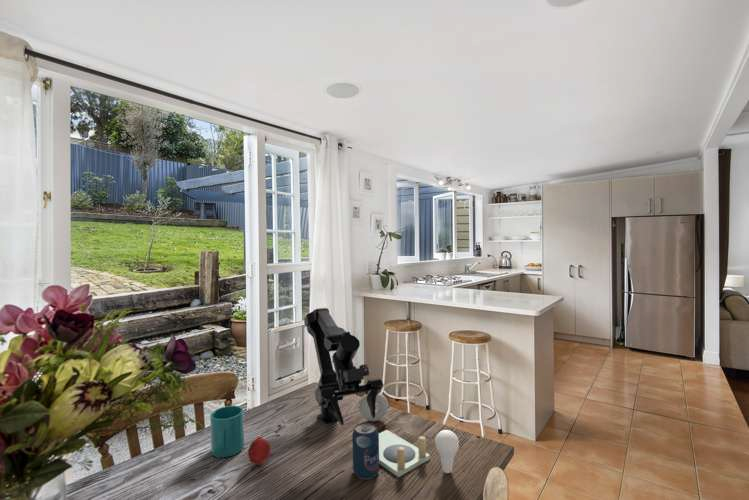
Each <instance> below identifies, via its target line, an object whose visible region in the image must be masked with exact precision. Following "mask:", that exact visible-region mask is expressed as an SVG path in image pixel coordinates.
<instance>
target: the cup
mask: <svg viewBox="0 0 749 500" xmlns="http://www.w3.org/2000/svg"><path fill="white" fill-rule="evenodd" d="M243 408H244V407H242V406H238V405H228V406H221V407H219V408H216V409H215V410H213V411H212V412H211V413H210V416H209V417H210V420H209V421H210V422H209V423H210V445H211V449H210V450H211V454H212V456H214V457H216V458H220V457H221V458H222V459H223V458H224V457H225V458H229V457H233V456H235V455H238V454H239V453H240V452H241V451H242V450H244V446H245V427H244V426H245V425H244V423H245V422H244V409H243ZM221 458H220V459H221ZM225 458H224V459H225Z"/></svg>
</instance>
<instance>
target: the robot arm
mask: <svg viewBox="0 0 749 500" xmlns="http://www.w3.org/2000/svg"><path fill="white" fill-rule="evenodd" d="M303 318H304V319H303V321H304V322H303V323H304V326H305V327H306V330H307V333H308V334H309V335H310V336H311V337H312V338H313V343H314V348H315V353H316V354H315V355H316V358H317V363H318V368H319V373H320V377H319V380H318V382H317V388H316V390H315V392H314V396H315V402H317V405H318V406H320V414H317V415H316V417H317V418H318V419H319V420H320V421H322V422H323V423H325V424H330V423H332V422H335V421H337V422H338V423H339V424H340V425H341V426H344V425H345V424H344V418H343V415H342V412H341V408H340V406H339V401H343V400H344V397H345V396H352V395H357V394H361V393H365V394H367V395H368V396H367V398H366V399H367V402H368V406H369V409H370V412H371V415H372V417H373V418H375V410H376V396H377V395H378V394H379V393H381V392H382V389H383V388H384V386H385V385H384V383H383V381H382V379H381V378H380V377H378V378H372V379H368V380H367V382H366V384H362V382H363V381H362V380H365V377H368V376H369V375H370V371H369V367H368V364H367V363H364V364H360V365H359V367H358V368H357V367H356V365H354V362H353V360H354V358H355V357H356V354H357V352H358V350H359V348H360V344H361V343H360V340H359V338H357V337H356V336H355V335H352V334H351V332H350V331H346V330H345V329H344V328H342V327H339V326H338V325H337V324H336V322H335V320H334V319H333V317H332V315H331V314H330V310H329V308H327V307H321V308H320V307H319V308H315V309H313V311H311V312H309V313H307V314H306V315H305V316H304V317H303ZM331 352H334V353H333V354H332V356H331V354H330V353H331ZM333 366H334V367H333ZM360 384H362V385H360Z"/></svg>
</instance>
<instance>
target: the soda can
mask: <svg viewBox="0 0 749 500" xmlns="http://www.w3.org/2000/svg"><path fill="white" fill-rule="evenodd" d="M379 433H380V432H379V431H378V429H377V426H376V425H375V424H374V423H371V422H367V421H366V422H361V423H360V422H359V423H358V424H356V425H355V426H354V430H353V431H352V470H353V473H354V474H355V475H356V477H357V478H359V479H361V480H371V479H372V478H373V479H374V478H375V477H376V475H377V474H378V473H379V470H380V464H379Z"/></svg>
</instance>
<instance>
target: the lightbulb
mask: <svg viewBox="0 0 749 500" xmlns="http://www.w3.org/2000/svg"><path fill="white" fill-rule="evenodd" d="M434 445H435V447H436V450H437V452H438V453H439V457H440V462H441V467H442V468H441V469H442V471H443V472H444V473H446V474H450V473H452V471H453V467H454V466H453V464H454V459H455V456H456V454H457V452H458V450H459V448H460V441H459V439H458V436H457V435H456V434H455V432H453V431H451V430H449V429H443V430H441V431H439V432H438V433H437V434H436V436H435V439H434Z"/></svg>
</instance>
